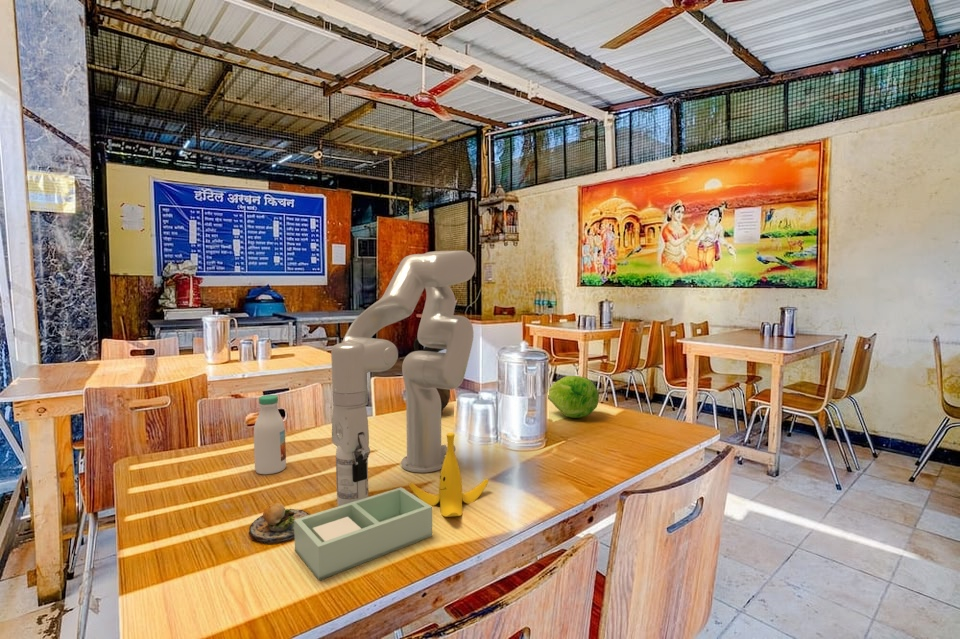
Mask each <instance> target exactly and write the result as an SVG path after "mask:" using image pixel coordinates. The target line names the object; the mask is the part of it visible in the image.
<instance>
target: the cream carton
mask: <svg viewBox="0 0 960 639" xmlns="http://www.w3.org/2000/svg"><path fill="white" fill-rule="evenodd" d="M359 529H361V528H360V527H359V526H358V525H357V524H356V523H354V522H353V521H352V520H351V519H350V518H349V517H345V518H342V519H339V520H336V521H333V522H329V523H326V524H323V525H320V526H317V527H314V528H312V532H313V533H314V534H315V535H316V537H317V538H318V539H319V540H320V541H321V542H325V541H327V540H330V539H333V538H336V537H339V536H342V535H345V534H348V533H350V532H353V531H356V530H359Z"/></svg>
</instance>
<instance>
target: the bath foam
mask: <svg viewBox="0 0 960 639" xmlns="http://www.w3.org/2000/svg"><path fill="white" fill-rule="evenodd" d="M357 449H361V447H360V446H359V447H356V449H355V450H357ZM356 454H357V458H358V456H359V455H360V454H361V452H358V453H356ZM352 464H354V461H353V457H352V453H346V452H345V451H343V450H342V449H341V447H340V446H338V447H337V446H336V452H335V471H336V472H335V473H336V474H335V475H336V477H335V478H336V480H335V481H336V504H337V507H338V506H341V505H344V504H348V503H351V502H354V501H357V500H361V499H364V498H367V497H370V496H369V462H367V479H365V480H362V481H358V482H353V474H352Z"/></svg>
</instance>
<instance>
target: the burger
mask: <svg viewBox="0 0 960 639" xmlns="http://www.w3.org/2000/svg"><path fill="white" fill-rule="evenodd" d="M266 504H267V505H268V506H267V507H266V508H265V509H264V511H263V513H262V515H261V516H259V517H258V518H256V519H255V520H254V521H253V522H252V523H250V525H249V531H248V535H249V536H248V537H249V538H250V540H251V541H253V542H255V541H257V542H258V543H262V544H265V545H266V544H267V545H271V544H278V543H282V542H283V543H284V542H287V541H290V540H291V541H292V540H295V535H294V520H295V519H299V518H302V517H305V516H308V515H311V514H310V513H309V512H307V511H306V510H303V509H295V508H286V507H285V506H284V504H282V503H280V502H273V503H271V504H269V503H268V502H266Z"/></svg>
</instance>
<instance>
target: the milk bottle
mask: <svg viewBox="0 0 960 639" xmlns="http://www.w3.org/2000/svg"><path fill="white" fill-rule="evenodd" d="M258 403H259V411H258V415H257V417H256V419H255V423H254V427H253V452H254V453H253V454H254V469H255V472H256V474H260V475H272V474H277V473H280V472H282V471H284V470H285V469H286V467H287V455H286V454H287V450H286V449H287V448H286V447H287V446H286V429H285V428H286V427H285V426H286V425H285V422H284V419H283V417H282V415H281V413H280V411H279V409H278V404H279V398H278V395H275V394H267V395H261V396H259V398H258Z"/></svg>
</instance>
